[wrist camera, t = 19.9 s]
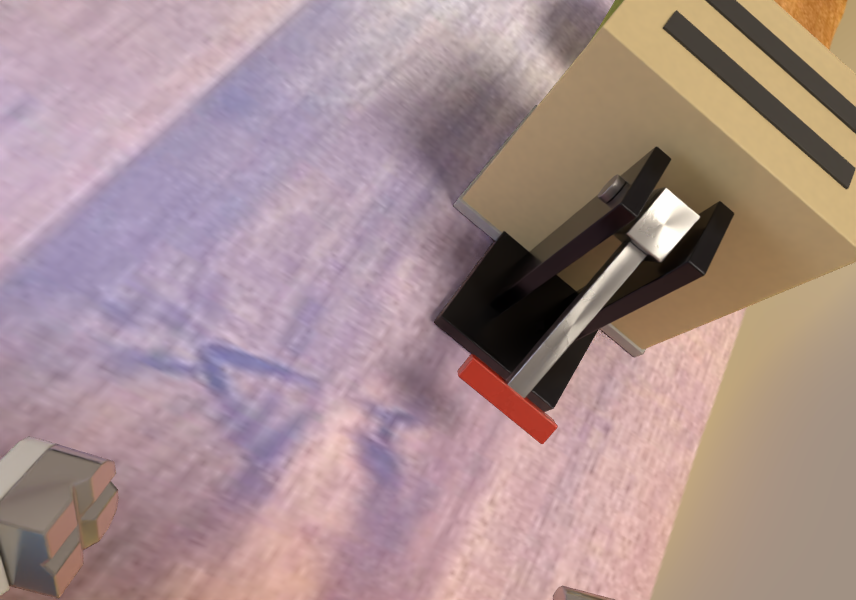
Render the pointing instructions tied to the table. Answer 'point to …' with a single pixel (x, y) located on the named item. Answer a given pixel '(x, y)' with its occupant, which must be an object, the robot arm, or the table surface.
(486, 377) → the lever
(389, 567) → the table surface
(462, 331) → the bracket
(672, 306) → the toaster
